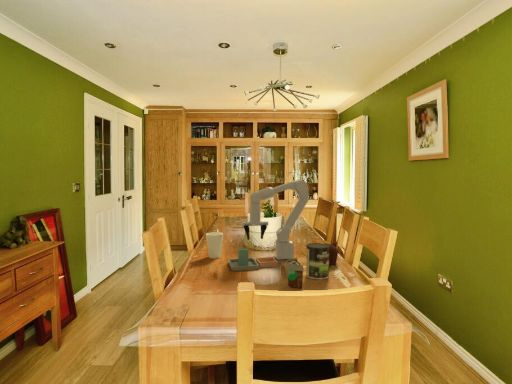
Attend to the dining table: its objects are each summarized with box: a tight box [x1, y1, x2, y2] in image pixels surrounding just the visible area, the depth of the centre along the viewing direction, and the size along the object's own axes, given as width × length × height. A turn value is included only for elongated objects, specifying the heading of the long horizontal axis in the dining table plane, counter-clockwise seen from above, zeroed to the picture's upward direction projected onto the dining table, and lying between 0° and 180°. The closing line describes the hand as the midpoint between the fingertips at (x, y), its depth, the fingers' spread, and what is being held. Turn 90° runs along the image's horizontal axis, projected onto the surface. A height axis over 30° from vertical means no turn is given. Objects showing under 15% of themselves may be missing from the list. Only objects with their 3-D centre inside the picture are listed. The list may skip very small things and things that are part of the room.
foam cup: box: [205, 231, 224, 259], centre depth 185 cm, size 10×9×13 cm
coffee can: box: [305, 242, 330, 281], centre depth 152 cm, size 10×10×14 cm
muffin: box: [325, 243, 339, 267], centre depth 172 cm, size 12×11×10 cm
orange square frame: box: [255, 256, 279, 269], centre depth 171 cm, size 9×9×2 cm
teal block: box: [237, 247, 249, 266], centre depth 168 cm, size 4×4×8 cm
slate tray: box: [227, 257, 260, 272], centre depth 168 cm, size 13×14×2 cm
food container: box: [284, 257, 304, 290], centre depth 140 cm, size 12×6×10 cm, turn 5°
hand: (254, 238), depth 183 cm, fingers open, 7 cm apart
